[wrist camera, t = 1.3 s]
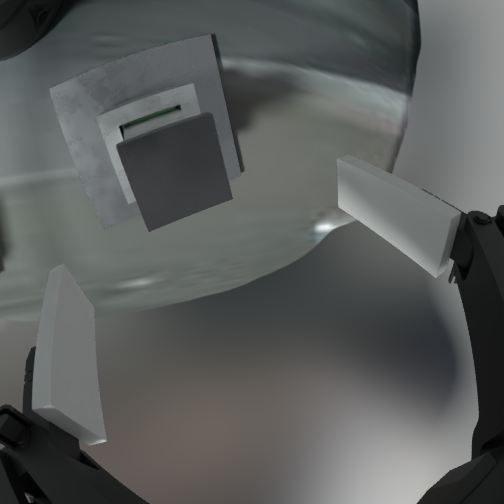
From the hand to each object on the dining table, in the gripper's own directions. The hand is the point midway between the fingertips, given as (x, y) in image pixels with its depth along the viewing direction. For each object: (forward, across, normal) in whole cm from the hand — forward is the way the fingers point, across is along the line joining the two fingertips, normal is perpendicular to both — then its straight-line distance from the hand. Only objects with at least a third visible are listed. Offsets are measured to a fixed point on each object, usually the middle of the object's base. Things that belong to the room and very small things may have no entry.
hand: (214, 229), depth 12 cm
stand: (+30, 0, 0) cm, 30 cm away
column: (+29, 0, 0) cm, 29 cm away
